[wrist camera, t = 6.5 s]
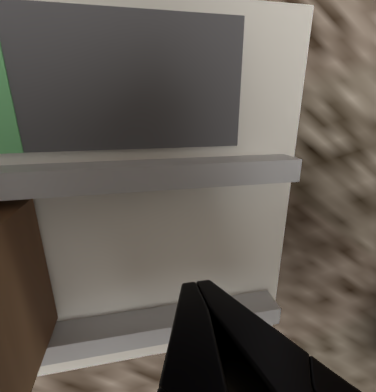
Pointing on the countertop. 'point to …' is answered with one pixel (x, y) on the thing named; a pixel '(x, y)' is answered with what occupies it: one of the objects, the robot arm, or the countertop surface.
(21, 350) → the slider
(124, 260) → the gauge base
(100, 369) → the countertop surface
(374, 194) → the countertop surface
